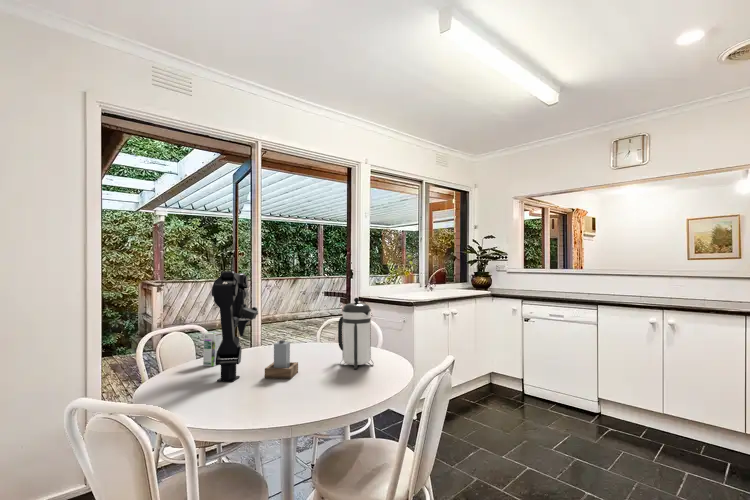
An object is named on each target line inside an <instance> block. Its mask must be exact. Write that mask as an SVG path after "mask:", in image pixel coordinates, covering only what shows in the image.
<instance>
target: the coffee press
mask: <svg viewBox="0 0 750 500" xmlns="http://www.w3.org/2000/svg"><path fill="white" fill-rule="evenodd" d="M353 301H354V302H352V303H350V302H349V303H346V304H345V305H344V306H343V309H342V310H341V311H342V316H341V317H340V318H339V320H338V323H337V324H338V325H337V335H338V336H337V341H338V347H339V348H340V350H341V351H342V359H341V360H340V363H339V366H341V367H343V366H344V365H345V364H347V365H351V366H353V370H357V371H358V366H363V365H366V364H368V365H369V366H371V365H374V363H375V362H374V361H373V360H372V346H371V345H372V338H371V337H372V335H371V334H372V331H371V330H372V328H371V327H372V325H371V321H372V320H371V318H372V317H371V312H372V309H371V307H370V306H369V304H367V303H365V302H364V303H363V302H360V299H359V297H355V298H354V299H353ZM370 361H371V363H372V364H371V363H370ZM342 362H343V364H342Z"/></svg>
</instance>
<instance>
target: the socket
mask: <svg viewBox="0 0 750 500" xmlns="http://www.w3.org/2000/svg"><path fill="white" fill-rule="evenodd" d="M298 373H299V362H293V361H290V367H289V368H274V361H273V362H272V363H270V364H269V365H267V366H266V367H265V368H264V380H292V379H293V378H294V377H295V376H296V375H297V374H298Z"/></svg>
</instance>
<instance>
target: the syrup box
mask: <svg viewBox="0 0 750 500" xmlns="http://www.w3.org/2000/svg"><path fill="white" fill-rule="evenodd" d="M221 341H222V331H207V332H205V333H204V332H203V358H202V366H203V367H204V366H205V367H215V366H217V365H216V364H215V361H216V354H217V350H218V348H219V346H220V344H221Z"/></svg>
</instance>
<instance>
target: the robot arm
mask: <svg viewBox="0 0 750 500" xmlns="http://www.w3.org/2000/svg"><path fill="white" fill-rule="evenodd" d="M248 281H249V280H248V276H247V275H246V273H243V272H242V273H236V271H233V270H232V271H221V273H220V276H219V277H217V278H216V279H215V280H214V281H213V284H212V288H211V296H212V297H213V302H214V304H216V306H217V307H218V308H219V314H220V315H219V316H220V317H219V318H220V326H221V332H222V341H221V344H220V346H219V348H218V350H217V354H216V361H215V364H216V366H220V377H219V378H218V379H217V380H216V382H219V383H220V382H225V383H232V382H235V381H236V380H238V379H239V378H240V377H241V376H240V375H237V365H239V364H240V363H241V362H242V350H243V349H242V346H241V344H240V338H239V336H240V337H244V333H245V330H246V327H247V325H248V323H249V322H251V320H252V321H253V320H256V318H257V315H259V310H258V307H256V306H253V307H252V308H251V307H250V308H248V307H247V306H248V305H247V303H245V299H247V298H248V296H249V292H248V289H249V283H248ZM225 282H226V283H225ZM236 328H237V330H238V334H239V336H235V334H236V333H235V332H236Z"/></svg>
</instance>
